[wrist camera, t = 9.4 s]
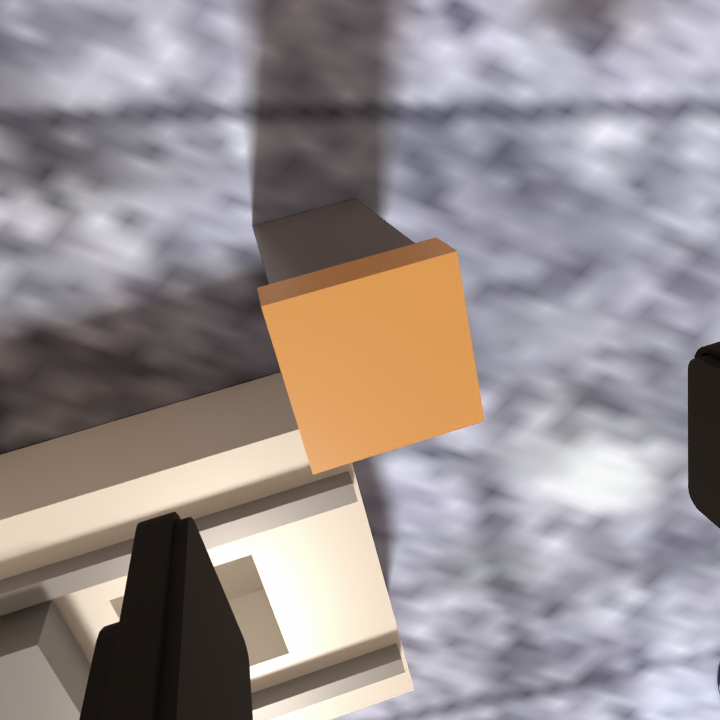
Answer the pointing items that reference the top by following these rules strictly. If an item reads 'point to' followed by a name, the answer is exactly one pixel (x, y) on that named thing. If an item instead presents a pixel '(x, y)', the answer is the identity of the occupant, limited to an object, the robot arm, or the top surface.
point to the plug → (366, 333)
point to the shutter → (40, 666)
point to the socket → (213, 541)
